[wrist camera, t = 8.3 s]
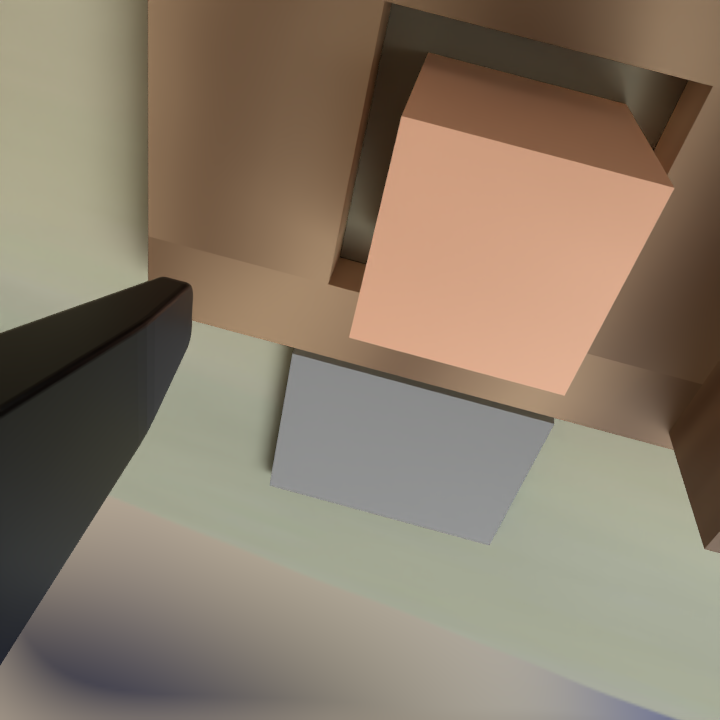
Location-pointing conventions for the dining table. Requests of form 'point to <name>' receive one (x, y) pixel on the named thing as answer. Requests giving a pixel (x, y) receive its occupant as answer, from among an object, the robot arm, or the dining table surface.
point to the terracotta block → (506, 224)
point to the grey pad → (403, 447)
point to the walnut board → (337, 179)
